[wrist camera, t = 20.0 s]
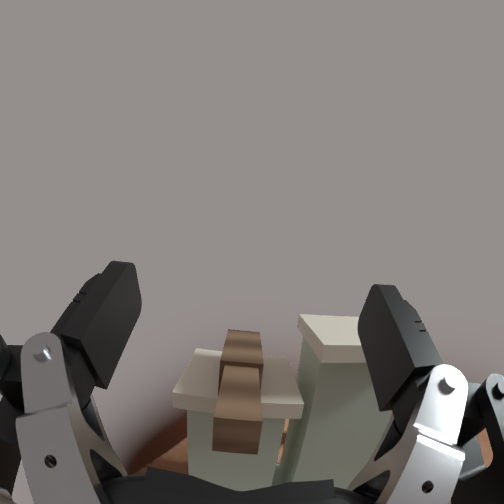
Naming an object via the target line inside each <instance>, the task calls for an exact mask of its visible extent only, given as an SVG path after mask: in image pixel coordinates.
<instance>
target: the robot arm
mask: <svg viewBox="0 0 504 504" xmlns="http://www.w3.org/2000/svg"><path fill="white" fill-rule="evenodd" d="M141 305H142V302H141V295H140V290H139V284H138V279H137V273H136V268H135V265H134V264H133V263H129V262H120V261H111V262H110V263H109V265H108V266H107V267H106V268H105V270H104V271H103V272H102V274H99V273H98V274H97V275H95V276H94V277H92V278H91V279H89V280H88V281H87V282H86V283H85V284H84V285H83V287H82V288H81V290H80V291H79V294H78V293H77V295H76V296H75V298H74V299H73V302H71V303H70V304H69V306H68V307H67V309H66V310H65V311H64V313H63V314H62V316H61V317H60V319H59V320H58V321H57V323H56V324H55V326H54V327H53V329H52V330H51V332H50V333H47V332H44V333H39V334H36V335H34V336H32V337H31V338H30V339H28V340H27V341H26V343H25V344H24V346H23V345H21V346H20V345H7V344H6V343H5V341H4V340H3V338H2V336H1V335H0V393H1V395H2V396H3V397H2V399H1V401H0V504H16V503H15V502H13V500H12V498H11V496H12V492H13V487H14V483H15V479H16V475H17V472H18V468H19V464H20V461H21V458H22V462H23V466H24V470H25V474H26V478H27V482H28V485H29V488H30V492H31V495H32V498H33V501H34V504H449V502H450V499H451V504H504V377H503V376H502V375H500V374H491V375H490V376H489V377H488V378H487V379H486V380H485V381H484V382H483V383H482V384H477V383H471V382H466V379H465V378H464V376H463V375H462V373H461V372H460V371H459V370H457V369H456V368H454V367H452V366H450V365H444V364H443V362H442V360H441V358H440V356H439V354H438V352H437V350H436V348H435V346H434V344H433V342H432V340H431V338H430V336H429V334H428V332H426V328H425V326H424V324H423V323H421V322H422V320H421V319H420V317H419V315H418V313H417V311H416V310H415V309H414V308H413V307H412V306H411V305H410V304H409V303H408V302H407V301H406V300H403V299H402V297H401V295H400V293H399V291H398V290H397V288H396V287H395V286H394V285H379V284H374V285H373V286H372V287H371V289H370V291H369V294H368V297H367V299H366V302H365V304H364V307H363V309H362V312H361V314H360V317H359V320H358V327H357V330H358V336H359V339H360V342H361V346H362V349H363V352H364V356H365V359H366V363H367V366H368V370H369V373H370V377H371V380H372V384H373V388H374V392H375V395H376V399H377V403H378V407H379V411H380V412H382V411H389V410H392V411H393V415H394V416H393V417H392V418H391V420H390V421H389V423H388V425H387V427H386V429H385V431H384V433H383V435H382V437H381V439H380V441H379V443H378V444H377V446H376V448H375V450H374V452H373V454H372V455H371V457H370V459H369V461H368V462H367V464H366V465H365V467H364V468H363V469H362V470H361V471H360V472H359V473H358V474H357V475H356V477H355V478H354V479H353V480H352V482H351V483H350V484H349V486H348V487H347V489H343V488H339V487H334V481H333V479H329V480H318V481H303V482H287V483H283V484H279V485H275V486H270V487H265V488H260V489H254V490H249V491H236V490H232V489H229V488H226V487H223V486H220V485H217V484H214V483H211V482H208V481H205V480H203V479H200V478H197V477H195V476H192V475H186V474H180V473H175V472H170V471H165V470H161V469H156V468H152V467H147V472H146V474H132V475H127V473H126V470H125V469H124V466H123V465H122V463H121V461H120V459H119V458H118V456H117V455H116V453H115V452H114V450H113V448H112V447H111V445H110V442H109V440H108V438H107V435H106V432H105V430H104V427H103V424H102V422H101V419H100V416H99V413H98V410H97V407H96V404H95V401H94V398H93V396H92V391H93V389H94V386H97V387H100V388H103V389H107V388H108V385H109V383H110V380H111V378H112V375H113V373H114V371H115V368H116V366H117V364H118V361H119V359H120V357H121V355H122V352H123V350H124V348H125V346H126V343H127V341H128V339H129V337H130V335H131V332H132V330H133V328H134V326H135V324H136V322H137V319H138V318H139V315H140V312H141ZM485 428H486V430H487V433H488V437H489V440H490V444H491V447H492V451H493V460H492V463H491V464H490V466H489V467H488V468H486V467H485V465H484V461H483V457H482V453H481V449H480V445H479V441H478V438H477V434H479V433H480V432H481V431H482V430H484V429H485Z"/></svg>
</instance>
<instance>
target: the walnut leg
mask: <svg viewBox="0 0 504 504" xmlns="http://www.w3.org/2000/svg"><path fill="white" fill-rule="evenodd" d="M263 366H264V362H263V355H262V348H261V340H260V333H259V332H250V331H240V330H230V329H229V330H228V333H227V337H226V340H225V344H224V348H223V351H222V355H221V359H220V370H219V385H218V399H217V403H216V408H215V413H214V418H213V439H212V451H219V452H228V453H240V454H255V455H258V449H259V442H260V436H261V429H262V423H263V419H262V407H261V395H260V390H261V382H262V374H263Z"/></svg>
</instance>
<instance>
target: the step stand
mask: <svg viewBox="0 0 504 504" xmlns="http://www.w3.org/2000/svg"><path fill="white" fill-rule="evenodd" d="M358 320H359V317H346V316H323V315H306V314H299V318H298V325H297V327H298V329H299V330H300V331H301V333H302V334H303V342H302V348H301V355H300V362H299V368H298V374H297V381H296V380H295V378H294V375H293V372H292V369H291V367H290V364H289V362H288V359H287V357H282V356H281V357H280V356H266V355H263V362H264V366H263V374H262V382H261V390H260V395H261V407H262V419H263V423H262V429H261V436H260V442H259V449H258V455H255V454H240V453H228V452H219V451H212V439H213V418H214V413H215V408H216V403H217V399H218V385H219V370H220V359H221V355H222V351H213V350H205V349H198V348H196V350H195V352H194V354H193V356H192V358H191V359H190V361H189V363H188V365H187V366H186V368H185V370H184V372H183V374H182V375H181V377H180V379H179V381H178V383H177V385H176V386H175V388H174V390H173V392H172V404H173V407H175V408H181V409H187V414H188V415H187V431H188V432H187V433H188V434H187V435H188V475H192V476H195V477H197V478H200V479H203V480H205V481H208V482H211V483H214V484H217V485H220V486H223V487H226V488H229V489H232V490H236V491H249V490H254V489H260V488H265V487H270V486H275V485H279V484H283V483H287V482H303V481H318V480H329V479H333V481H334V487H339V488H343V489H347V487H348V486H349V484H350V483H351V482H352V480H353V479H354V478H355V477H356V475H357V474H358V473H359V472H360V471H361V470H362V469H363V468H364V467H365V465H366V464H367V462H368V461H369V459H370V457H371V455H372V454H373V452H374V450H375V448H376V446H377V444H378V443H379V441H380V439H381V437H382V435H383V433H384V431H385V429H386V427H387V425H388V422H389V419H390V416H391V413H392V410H389V411H382V412H380V411H379V407H378V403H377V399H376V395H375V392H374V388H373V384H372V380H371V377H370V373H369V370H368V366H367V363H366V359H365V356H364V352H363V349H362V346H361V342H360V339H359V336H358V330H357V327H358ZM285 419H289V424H288V429H287V434H286V438H285V443H284V448H283V452H282V457H281V461H280V464H276V463H277V459H278V454H279V449H280V444H281V439H282V434H283V429H284V424H285Z"/></svg>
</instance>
